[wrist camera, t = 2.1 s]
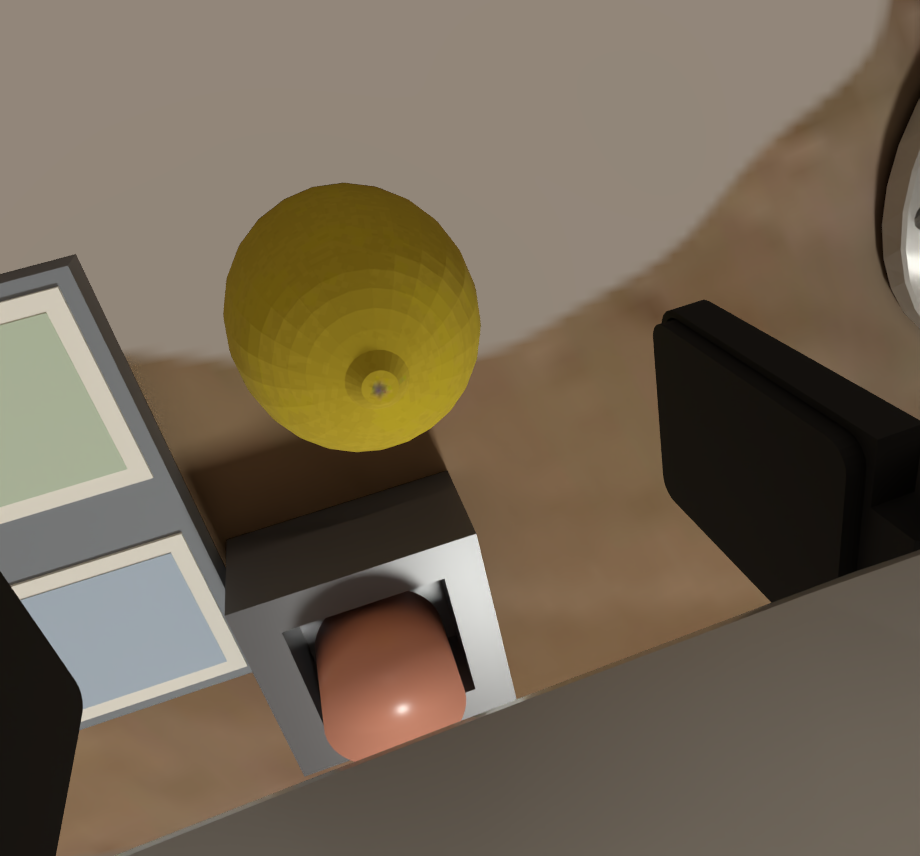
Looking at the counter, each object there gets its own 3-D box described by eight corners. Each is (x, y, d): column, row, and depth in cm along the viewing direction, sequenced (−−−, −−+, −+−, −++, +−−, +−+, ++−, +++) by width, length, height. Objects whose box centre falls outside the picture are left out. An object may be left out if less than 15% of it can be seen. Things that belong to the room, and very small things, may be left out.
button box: (447, 470, 24) (475, 533, 21) (487, 628, 28) (516, 701, 25) (226, 540, 24) (224, 615, 21) (297, 693, 27) (304, 776, 24)
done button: (427, 571, 23) (450, 641, 20) (453, 662, 25) (478, 735, 22) (297, 614, 22) (304, 691, 20) (335, 702, 24) (346, 782, 22)
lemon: (202, 173, 19) (180, 264, 12) (423, 144, 20) (520, 212, 13) (252, 376, 21) (258, 545, 14) (443, 342, 22) (533, 485, 15)
